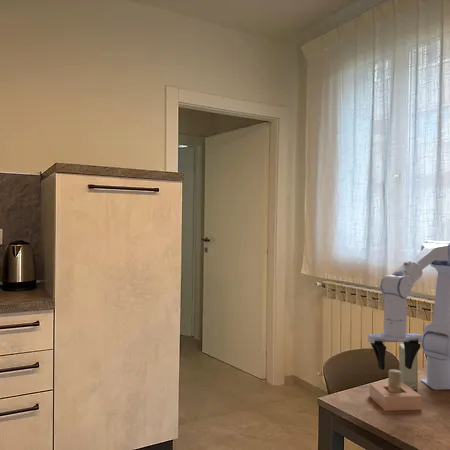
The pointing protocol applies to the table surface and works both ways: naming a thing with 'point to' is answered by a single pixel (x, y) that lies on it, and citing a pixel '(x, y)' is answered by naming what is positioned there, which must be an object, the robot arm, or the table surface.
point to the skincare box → (408, 370)
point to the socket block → (395, 397)
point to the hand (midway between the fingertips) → (394, 368)
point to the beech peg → (394, 381)
